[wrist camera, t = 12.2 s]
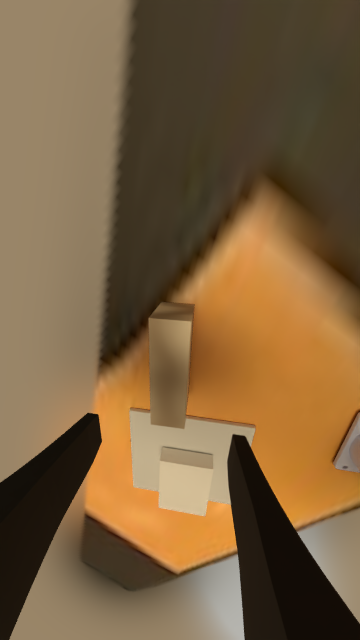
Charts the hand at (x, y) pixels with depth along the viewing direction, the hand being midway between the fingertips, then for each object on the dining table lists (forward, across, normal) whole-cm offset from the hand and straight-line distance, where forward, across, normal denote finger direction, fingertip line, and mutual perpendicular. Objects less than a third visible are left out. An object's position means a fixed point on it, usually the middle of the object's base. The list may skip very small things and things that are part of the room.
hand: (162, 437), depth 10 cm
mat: (+9, -1, +15) cm, 18 cm away
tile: (+8, -1, +13) cm, 15 cm away
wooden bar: (+10, +1, 0) cm, 10 cm away
